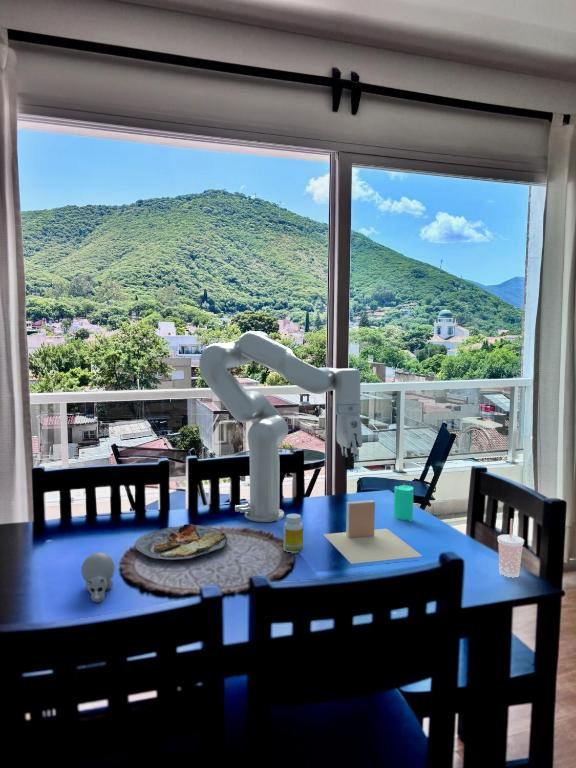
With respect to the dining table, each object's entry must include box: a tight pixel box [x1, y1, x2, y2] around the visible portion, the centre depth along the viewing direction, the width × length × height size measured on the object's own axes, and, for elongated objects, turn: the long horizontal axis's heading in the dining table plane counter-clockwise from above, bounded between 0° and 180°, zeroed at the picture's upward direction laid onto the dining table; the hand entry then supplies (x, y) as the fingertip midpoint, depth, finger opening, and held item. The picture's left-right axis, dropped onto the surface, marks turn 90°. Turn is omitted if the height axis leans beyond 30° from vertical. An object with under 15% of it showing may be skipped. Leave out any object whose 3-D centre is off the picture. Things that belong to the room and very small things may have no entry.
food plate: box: [134, 523, 229, 561], centre depth 159 cm, size 25×23×4 cm
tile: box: [345, 499, 376, 538], centre depth 165 cm, size 8×2×10 cm, turn 105°
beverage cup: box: [497, 518, 525, 579], centre depth 142 cm, size 6×6×14 cm
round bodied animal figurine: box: [80, 552, 116, 603], centre depth 130 cm, size 7×12×8 cm, turn 13°
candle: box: [393, 484, 415, 523], centre depth 183 cm, size 6×6×12 cm
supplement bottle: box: [282, 513, 304, 554], centre depth 157 cm, size 5×5×10 cm
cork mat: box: [322, 528, 423, 565], centre depth 159 cm, size 20×22×1 cm
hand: (348, 468), depth 176 cm, fingers closed
